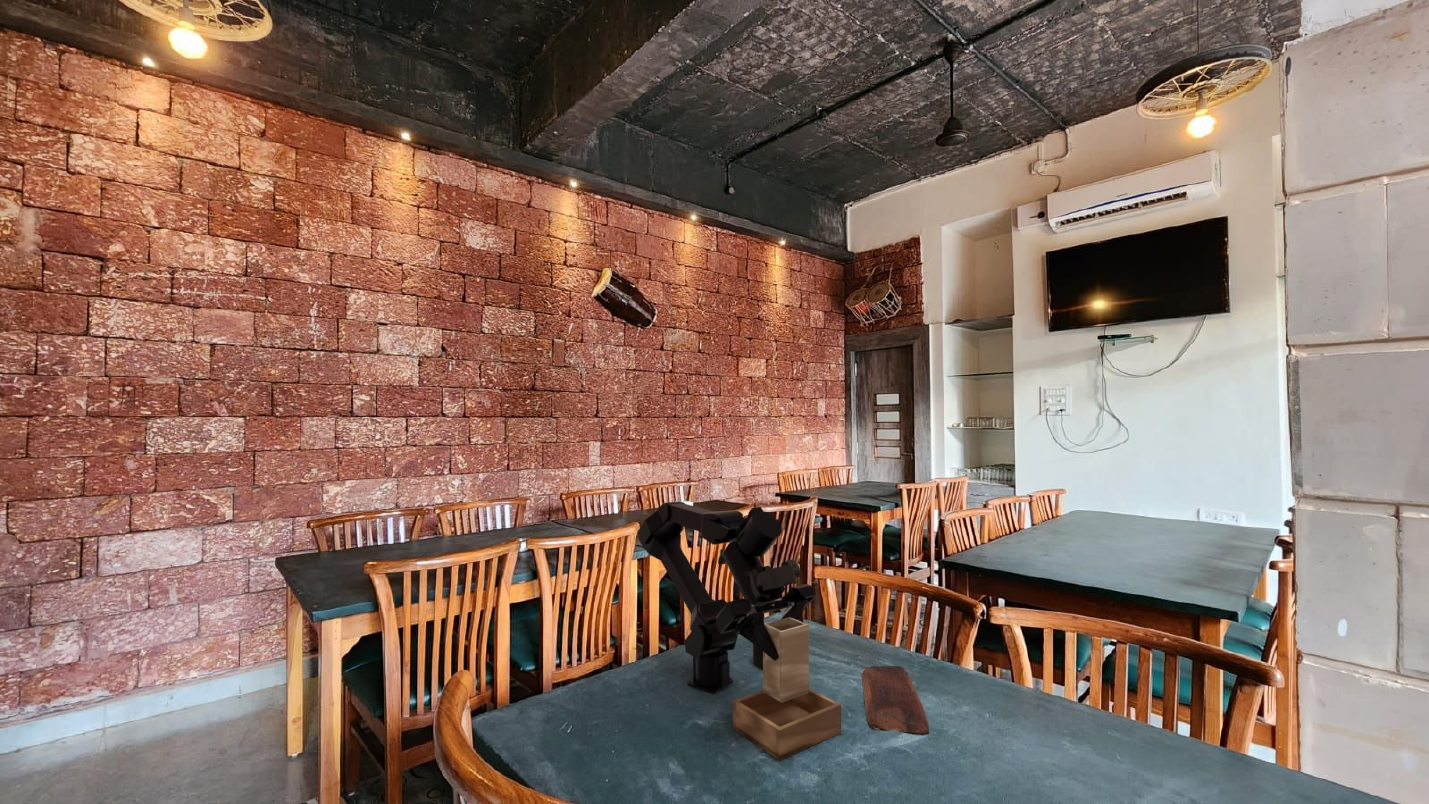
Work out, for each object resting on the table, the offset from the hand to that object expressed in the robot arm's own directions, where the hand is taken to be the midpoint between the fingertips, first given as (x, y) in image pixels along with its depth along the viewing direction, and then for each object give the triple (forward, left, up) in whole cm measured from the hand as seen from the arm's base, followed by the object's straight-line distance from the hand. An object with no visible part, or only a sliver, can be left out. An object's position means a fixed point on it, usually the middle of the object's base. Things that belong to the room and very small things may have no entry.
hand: (791, 654), depth 95 cm
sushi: (-17, +22, -13) cm, 30 cm away
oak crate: (-1, 0, -13) cm, 13 cm away
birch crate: (-1, 0, -7) cm, 7 cm away
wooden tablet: (+8, +23, -13) cm, 27 cm away
